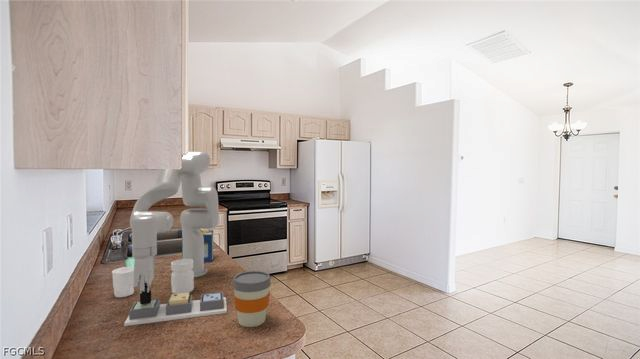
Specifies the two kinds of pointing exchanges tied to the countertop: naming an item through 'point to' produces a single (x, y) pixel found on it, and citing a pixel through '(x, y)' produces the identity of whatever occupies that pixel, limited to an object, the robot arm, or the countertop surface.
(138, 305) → the button
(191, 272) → the vase
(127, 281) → the white cup
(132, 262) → the container
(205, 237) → the protein box
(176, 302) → the button
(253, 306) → the reusable coffee cup
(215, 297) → the button
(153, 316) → the button panel
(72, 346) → the countertop surface
